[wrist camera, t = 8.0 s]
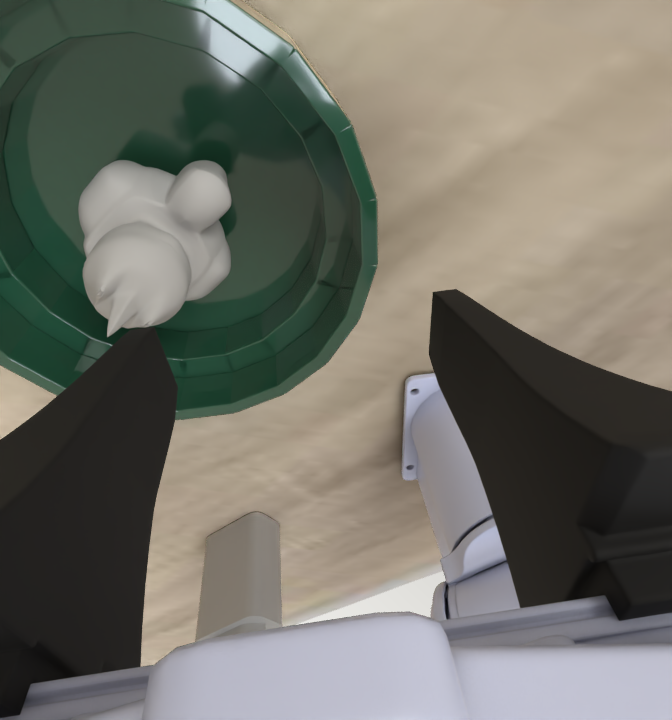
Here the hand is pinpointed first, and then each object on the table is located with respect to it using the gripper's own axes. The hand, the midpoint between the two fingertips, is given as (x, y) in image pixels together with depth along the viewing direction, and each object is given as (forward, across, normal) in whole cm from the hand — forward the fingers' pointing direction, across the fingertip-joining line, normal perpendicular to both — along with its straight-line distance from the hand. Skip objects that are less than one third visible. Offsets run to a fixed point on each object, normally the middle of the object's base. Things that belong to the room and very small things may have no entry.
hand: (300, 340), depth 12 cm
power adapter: (+10, +7, +24) cm, 27 cm away
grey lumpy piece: (+9, +5, -1) cm, 10 cm away
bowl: (+10, +5, -1) cm, 11 cm away
